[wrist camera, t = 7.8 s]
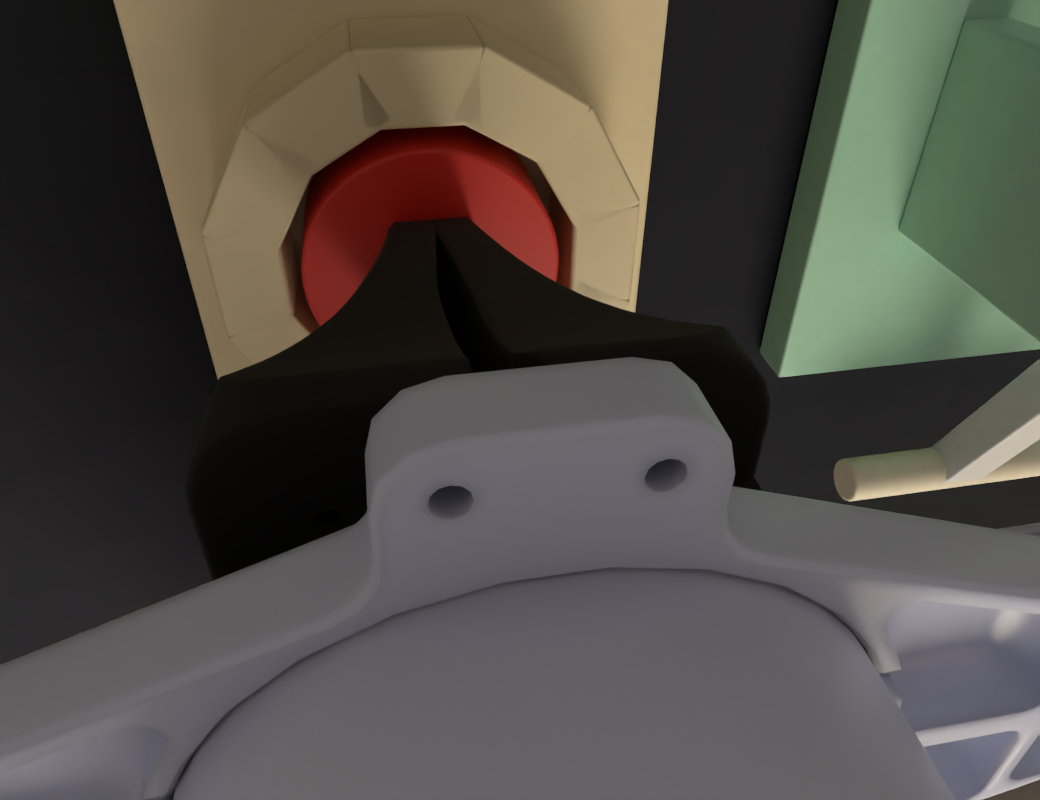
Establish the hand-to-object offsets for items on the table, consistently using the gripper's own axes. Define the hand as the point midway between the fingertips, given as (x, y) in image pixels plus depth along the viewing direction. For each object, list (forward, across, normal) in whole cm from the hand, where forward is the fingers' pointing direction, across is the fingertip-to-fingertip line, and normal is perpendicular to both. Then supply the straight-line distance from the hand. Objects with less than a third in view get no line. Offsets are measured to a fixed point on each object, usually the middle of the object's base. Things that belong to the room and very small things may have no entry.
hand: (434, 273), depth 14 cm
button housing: (+4, 0, +1) cm, 4 cm away
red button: (+2, 0, 0) cm, 2 cm away
